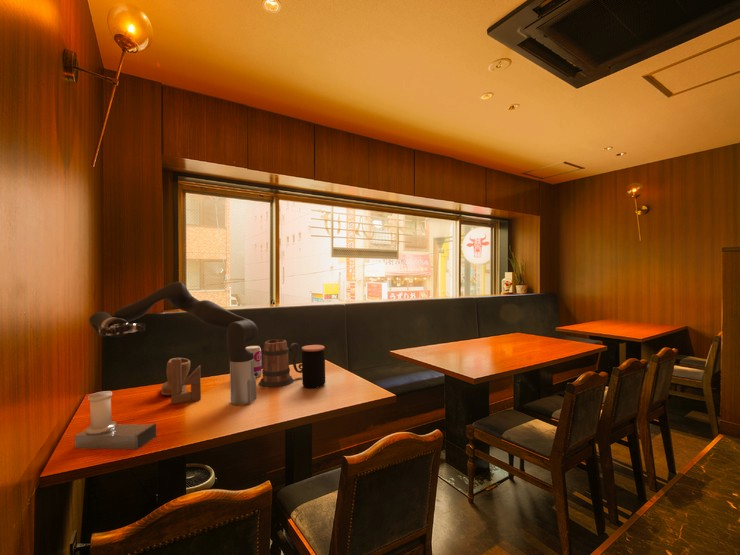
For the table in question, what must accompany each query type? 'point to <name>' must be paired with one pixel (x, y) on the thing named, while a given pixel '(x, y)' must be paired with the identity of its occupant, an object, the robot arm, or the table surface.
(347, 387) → the table surface
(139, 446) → the grey soap dish block
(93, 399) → the white flanged cylinder
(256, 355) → the supplement can
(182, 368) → the stone cup
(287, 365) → the tankard
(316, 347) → the coffee jar
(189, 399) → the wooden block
